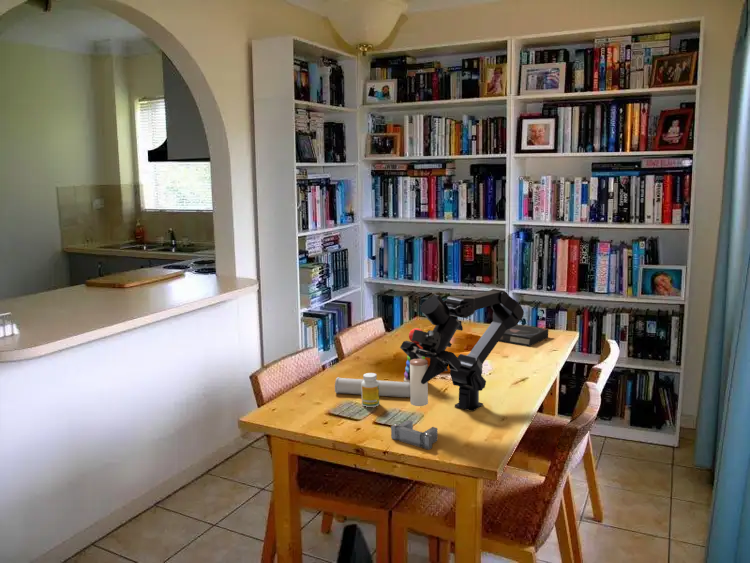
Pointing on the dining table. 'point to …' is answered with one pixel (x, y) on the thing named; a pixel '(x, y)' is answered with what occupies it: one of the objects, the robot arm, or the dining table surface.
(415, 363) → the mushroom
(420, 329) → the stacking toy
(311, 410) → the dining table surface
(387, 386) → the tube
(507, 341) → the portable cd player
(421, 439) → the bracket
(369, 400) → the supplement bottle
